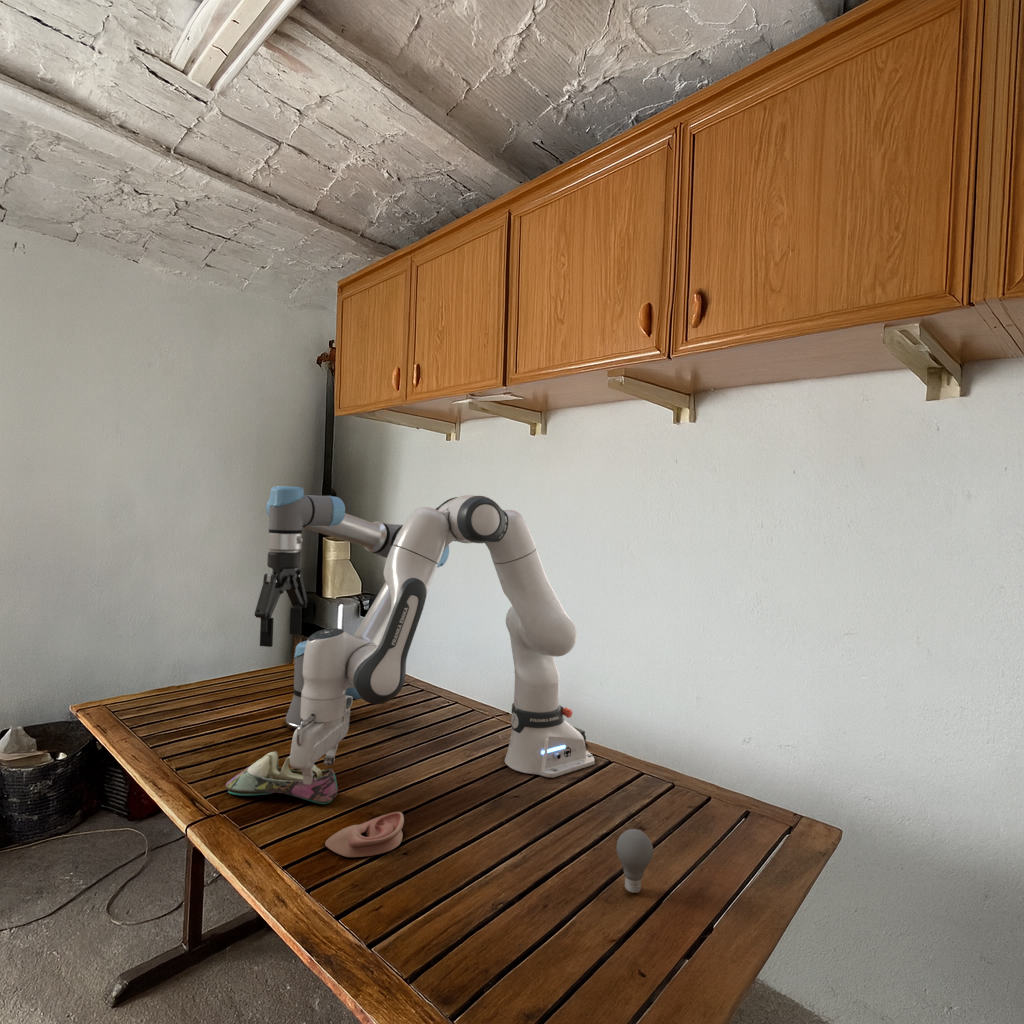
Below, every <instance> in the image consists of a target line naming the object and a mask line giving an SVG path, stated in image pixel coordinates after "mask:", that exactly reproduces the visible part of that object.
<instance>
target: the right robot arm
mask: <svg viewBox="0 0 1024 1024" xmlns="http://www.w3.org/2000/svg"><path fill="white" fill-rule="evenodd" d="M402 525H403V526H402V528H401V529H400V531H399V533H398V535H397V537H396V539H395V541H394V543H393V545H392V547H391V549H390V552H389V554H388V557H387V558H386V560H385V563H384V568H383V578H384V581H385V582H386V583H387V586H388V588H389V591H390V595H391V610H390V613H389V616H388V619H387V621H386V624H385V627H384V630H383V632H382V635H381V638H380V640H379V643H378V645H376V644H374V643H372V642H367V641H363V640H360V639H357V638H355V637H353V635H351V634H350V633H348V632H347V631H345V630H344V629H342V628H338V627H337V628H336V627H335V628H332V627H331V628H324V629H321V630H318V631H316V632H314V633H312V634H311V635H310V636H309V637H308V638H307V640H306V641H307V643H306V647H305V652H304V660H303V673H302V674H303V678H304V686H303V689H302V693H301V710H300V717H301V718H302V719H303V721H302V722H301V723H300V727H298V728H297V729H296V730H294V732H293V735H292V738H291V739H292V740H291V745H290V753H289V756H290V761H289V765H290V766H289V767H290V768H291V769H293V770H301V772H302V774H303V783H304V784H307V785H310V784H311V783H312V782H313V781H314V777H315V773H313V771H312V768H313V765H314V764H315V763H316V762H318V761H319V760H320V759H321V758H322V757H323V756H324V757H323V765H324V766H328V767H330V766H332V765H333V764H335V760H336V759H335V758H336V753H337V750H338V748H339V742H341V741H342V740H343V739H344V738H345V737H347V734H348V732H349V728H350V719H351V707H352V705H353V701H354V699H353V697H352V696H348V695H345V691H346V689H347V688H351V687H354V688H355V689H356V691H357V692H358V694H359V695H360V697H361V698H362V699H361V700H363V701H364V702H366V703H368V704H373V705H380V704H385V703H388V702H390V701H391V700H394V698H395V697H396V696H397V695H399V694H400V692H401V690H402V689H403V686H404V685H405V681H406V672H407V671H406V670H407V659H408V655H409V652H410V651H409V650H410V649H411V645H412V643H413V640H414V636H415V634H416V631H417V629H418V626H419V623H420V619H421V616H422V614H423V610H424V607H425V603H426V600H427V595H428V592H429V588H430V586H431V584H432V581H433V578H434V576H435V573H436V571H437V566H438V564H439V561H440V559H441V556H442V553H443V551H444V550H445V549H446V547H447V546H448V545H449V546H450V544H451V543H452V542H458V543H461V544H484V545H485V546H486V548H487V549H488V551H489V554H490V557H491V561H492V563H493V566H494V569H495V573H496V574H497V577H498V581H499V583H500V586H501V589H502V592H503V594H504V595H505V596H506V598H507V600H508V601H509V602H510V604H511V605H512V606H510V608H509V609H508V610H507V612H506V615H505V626H506V628H507V631H508V634H509V640H510V646H511V653H512V660H513V669H514V670H513V671H514V687H513V689H514V690H513V703H512V704H511V717H510V722H511V724H510V726H511V732H510V738H509V743H508V747H507V751H506V754H505V757H504V763H505V765H506V766H507V767H509V768H510V769H512V770H513V771H517V772H520V773H523V774H528V775H529V774H530V775H538V776H541V777H545V778H551V779H552V778H557V777H561V776H564V775H566V774H570V773H572V772H576V771H578V770H581V769H586V768H588V767H591V766H593V765H595V763H596V762H595V761H596V760H595V756H593V754H592V753H591V752H589V750H588V749H587V746H589V744H588V742H586V741H587V737H586V731H585V730H583V729H580V728H578V727H576V726H573V725H572V724H570V723H569V722H567V721H566V720H565V718H568V719H569V718H571V717H572V716H573V711H572V709H570V708H568V707H564V706H562V705H561V704H560V703H559V702H560V682H561V681H560V680H561V676H560V672H559V669H558V667H557V664H556V661H555V657H557V658H558V657H563V656H565V655H567V654H569V653H570V652H571V651H572V650H573V648H574V647H575V645H576V643H577V640H578V630H577V626H576V625H575V623H574V622H573V620H572V619H571V618H570V617H569V615H568V614H567V613H566V610H565V609H564V606H563V605H562V603H561V601H560V599H559V597H558V595H557V594H556V592H555V590H554V589H553V587H552V585H551V583H550V580H549V579H548V577H547V574H546V571H545V568H544V566H543V563H542V559H541V557H540V554H539V551H538V548H537V545H536V543H535V539H534V537H533V535H532V533H531V530H530V529H529V526H528V525H527V523H526V521H525V520H524V517H523V515H522V514H521V513H520V512H518V511H517V510H514V509H502V508H501V506H499V504H498V503H497V502H496V501H495V500H493V499H491V498H489V497H487V496H484V495H474V494H465V495H461V496H455V497H452V498H449V499H447V500H445V501H443V502H442V503H441V504H439V505H438V506H437V507H435V508H433V507H429V506H422V507H421V506H420V507H417V508H415V509H413V511H412V512H411V513H410V514H409V516H408V517H406V520H405V521H404V523H403V524H402ZM564 716H565V717H564Z"/></svg>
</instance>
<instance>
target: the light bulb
mask: <svg viewBox="0 0 1024 1024" xmlns="http://www.w3.org/2000/svg"><path fill="white" fill-rule="evenodd" d="M615 849H616V854H617V857H618V859H619V861H620V863H621V865H622V867H623V873H624V874H623V875H624V876H625V878H624V888H625V890H627V891H628V892H630V893H634V894H635V893H639V892H640V891H641V889H642V887H641V886H642V879H643V877H644V875H645V871H646V868H647V867H648V866H649V864H650V863H651V861H652V859H653V855H654V847H653V843H652V841H651V838H649V836H648V835H647V834H646V833H645V832H643V831H642V830H641V829H636V828H629V829H627V830H625V831H623V832H622V833H621V834H620V835H619V837H618V839H617V841H616V847H615Z"/></svg>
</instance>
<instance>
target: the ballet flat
mask: <svg viewBox="0 0 1024 1024" xmlns="http://www.w3.org/2000/svg"><path fill="white" fill-rule="evenodd" d="M289 765H290V755H289V756H287V757H286V759H285V760H284V763H283V765H282V767H281V766H279V753H278V752H277V751H276V750H275V751H270V752H268V753H266V754H265V755H264V756H262V757H261V758H259V759H258V760H256V761H255V762H254V763H252V764H251V765H250V766H247V767H246V768H244V770H242V771H241V772H239V773H238V774H236V775H235V776H233V777H232V778H231V779H230V780H228V781H226V783H225V788H226V790H227V793H228V794H229V795H230V794H231V795H233V796H234V795H235V796H240V797H241V796H245V797H246V796H247V797H249V796H263V795H264V796H265V795H270V794H271V795H272V794H275V793H277V794H284V795H288V796H291V797H294V798H299V799H302V800H305V801H307V802H311V803H314V804H319V805H327V804H330V803H332V801H333V800H334V799H335V798H336V797H337V796H338V793H339V792H338V789H339V786H338V782H337V776H336V774H335V771H334V770H333V769H332V768H328V769H320V768H319V767H318V766H317V765H316V764H315V763H314V765H313V768H312V771H313V773H315V777H314V781H313V782H312V783H311V784H310V785H307V784H304V783H303V774H302V772H301V769H292V768H290V766H289Z"/></svg>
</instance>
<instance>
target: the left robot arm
mask: <svg viewBox="0 0 1024 1024" xmlns="http://www.w3.org/2000/svg"><path fill="white" fill-rule="evenodd" d="M265 510H266V514H267V516H268V536H267V537H268V538H267V539H268V540H267V549H268V550H269V551H268V552H267V559H266V561H267V563H266V564H267V567H268V568H270V569H272V572H271V573H264V574H263V580H262V581H263V582H262V586H261V590H260V593H259V596H258V600H257V604H256V608H255V611H254V616H255V618H258V619H260V628H259V629H260V631H259V647H266V648H272V647H273V645H274V644H273V643H274V620H275V619H274V617H272V616H273V614H274V611H275V609H276V607H277V604H278V602H279V600H280V597H281V595H283V594H284V593H285V592H286V595H287V596H288V599H289V601H290V603H291V605H292V607H290V610H289V611H290V612H289V617H290V618H289V635H297V636H300V635H302V623H303V608H307V604H308V597H307V592H306V588H305V584H304V583H305V582H304V579H303V569H302V568H301V566H302V553H301V552H300V551H301V550H302V542H303V540H304V539H303V536H302V535H303V529H306V530H310V531H313V532H315V533H319V534H322V535H324V536H329V537H331V538H335V539H338V540H341V541H344V542H348V543H350V544H351V543H352V544H355V545H357V546H360V547H363V548H364V549H365V551H367V552H369V553H372V554H375V555H377V556H380V557H382V558H385V559H387V557H388V554H389V552H390V549H391V547H392V545H393V543H394V541H395V539H396V537H397V535H398V533H399V531H400V529H401V528H402V526H403V525H404V524H394V523H393V524H392V523H386V522H382V521H379V520H376V521H372V522H371V521H369V520H367V519H363V518H361V517H359V516H358V517H357V516H356V515H355V516H354V515H352V514H349V513H347V512H346V506H345V502H344V501H343V500H342V499H341V498H340V497H338V496H332V495H311V494H305V493H304V488H303V487H302V486H287V485H275V486H273V487H271V489H270V493H269V499H268V501H267V503H266V507H265ZM449 557H450V544H449V545H448V546H447V547H446V549H445V550H444V551H443V553H442V556H441V559H440V561H439V564H438V566H437V568H441V567H443V566H445V564H446V563H447V561H448V559H449ZM437 568H436V569H437ZM390 610H391V595H390V591H389V588H388V586H387V583H386V581H385V582H384V583H383V585H382V587H381V588H380V590H379V592H378V594H377V596H376V597H375V599H374V601H373V602H372V604H371V605H370V608H369V609H368V611H367V613H366V614H365V616H364V618H363V619H362V621H361V622H360V624H359V626H358V628H357V630H356V631H355V633H354V635H352V636H353V637H355V638H357V639H360V640H363V641H367V642H372V643H374V644H376V645H378V643H379V640H380V638H381V635H382V632H383V630H384V627H385V624H386V621H387V619H388V616H389V613H390ZM306 643H307V640H304V641H300V642H299V643H298V644H297V645H296V646H295V650H294V651H295V652H294V655H293V658H294V670H293V671H294V672H293V695H292V696H293V697H292V699H291V702H290V704H289V708H288V710H287V711H286V712H285V726H286V728H287V729H289V730H291V731H295V730H296V729H297V728H298V727H300V723H301V722H302V721H303V719H302V718H301V717H300V710H301V693H302V689H303V686H304V678H303V674H302V673H303V660H304V652H305V647H306ZM345 695H348V696H352V697H353V700H363V699H362V698H361V697H360V695H359V694H358V692H357V691H356V689H355V688H354V687H351V688H347V689H346V691H345Z"/></svg>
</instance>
